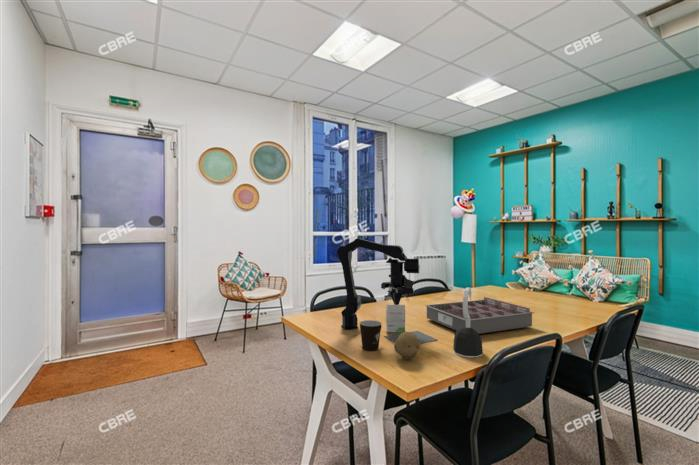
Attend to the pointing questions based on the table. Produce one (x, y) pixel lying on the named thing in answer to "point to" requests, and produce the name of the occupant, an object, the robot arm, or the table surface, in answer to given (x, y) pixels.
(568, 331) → the table surface
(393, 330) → the ink box
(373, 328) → the coffee mug
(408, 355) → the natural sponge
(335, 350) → the table surface
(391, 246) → the robot arm
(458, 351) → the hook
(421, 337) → the mat
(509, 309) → the organizer tray
